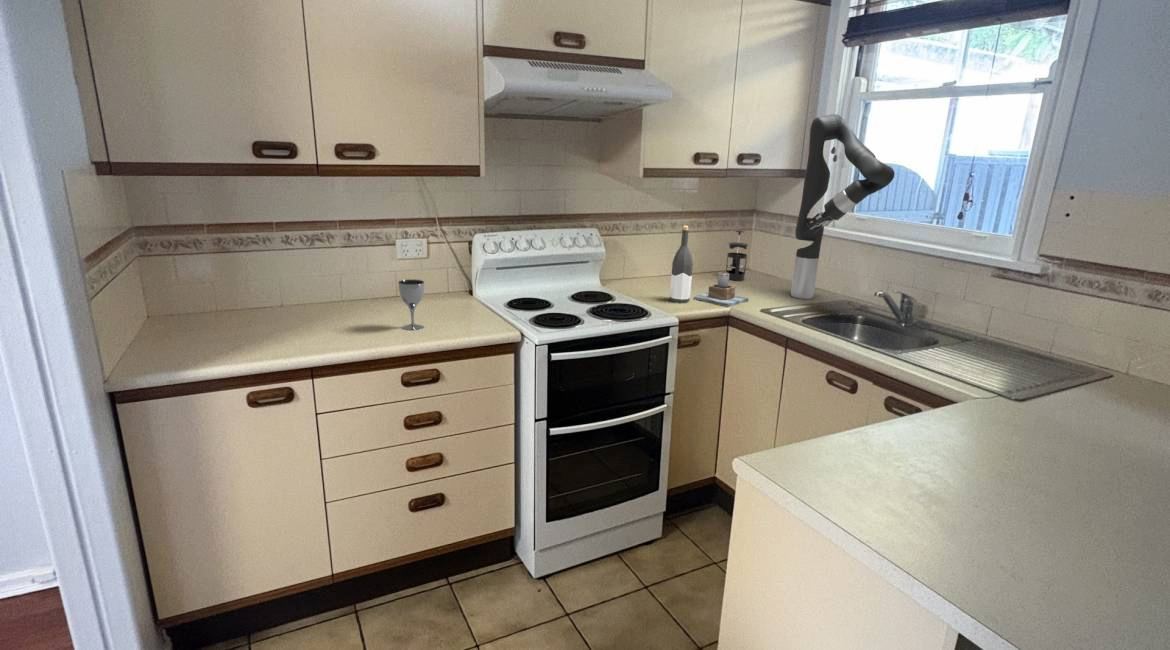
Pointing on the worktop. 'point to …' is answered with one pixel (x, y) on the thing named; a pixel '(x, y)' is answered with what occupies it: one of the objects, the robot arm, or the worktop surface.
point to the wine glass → (411, 298)
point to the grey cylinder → (723, 280)
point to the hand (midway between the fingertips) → (806, 232)
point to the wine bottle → (681, 271)
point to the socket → (721, 296)
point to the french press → (736, 261)
